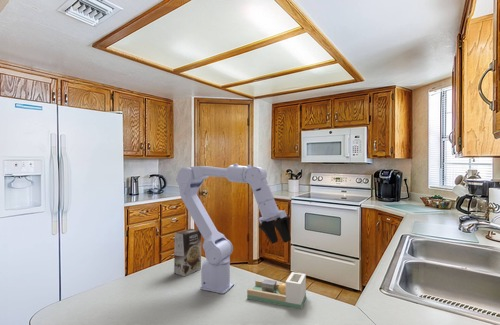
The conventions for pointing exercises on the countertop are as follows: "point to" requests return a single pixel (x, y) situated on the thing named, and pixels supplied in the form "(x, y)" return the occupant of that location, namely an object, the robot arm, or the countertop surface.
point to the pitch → (291, 299)
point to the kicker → (269, 286)
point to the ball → (282, 289)
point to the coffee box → (187, 252)
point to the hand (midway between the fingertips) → (281, 242)
